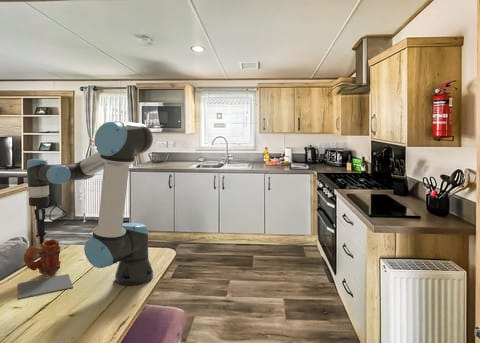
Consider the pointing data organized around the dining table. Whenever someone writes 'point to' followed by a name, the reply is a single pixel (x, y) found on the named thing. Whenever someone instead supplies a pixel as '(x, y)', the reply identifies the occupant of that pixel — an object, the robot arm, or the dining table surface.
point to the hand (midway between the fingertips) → (42, 250)
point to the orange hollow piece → (44, 257)
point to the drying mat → (44, 286)
